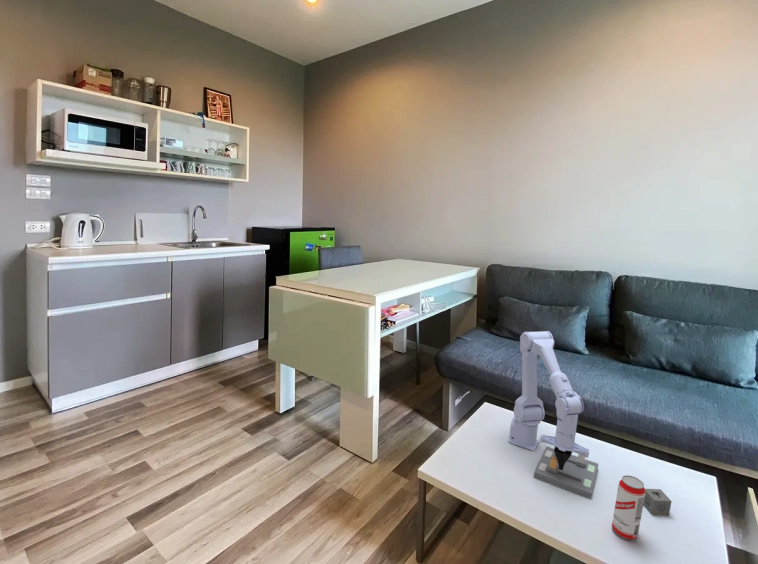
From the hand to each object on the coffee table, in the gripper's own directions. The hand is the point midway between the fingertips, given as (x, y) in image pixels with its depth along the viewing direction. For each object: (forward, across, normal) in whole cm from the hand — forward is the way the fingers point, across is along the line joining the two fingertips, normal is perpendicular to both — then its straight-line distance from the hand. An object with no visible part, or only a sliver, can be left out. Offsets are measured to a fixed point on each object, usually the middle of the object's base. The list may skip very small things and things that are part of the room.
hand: (561, 468), depth 133 cm
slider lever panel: (+4, +1, +4) cm, 6 cm away
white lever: (+2, +5, +9) cm, 10 cm away
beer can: (+4, +19, -14) cm, 24 cm away
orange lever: (+2, -2, 0) cm, 3 cm away
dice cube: (+4, +26, +2) cm, 27 cm away
